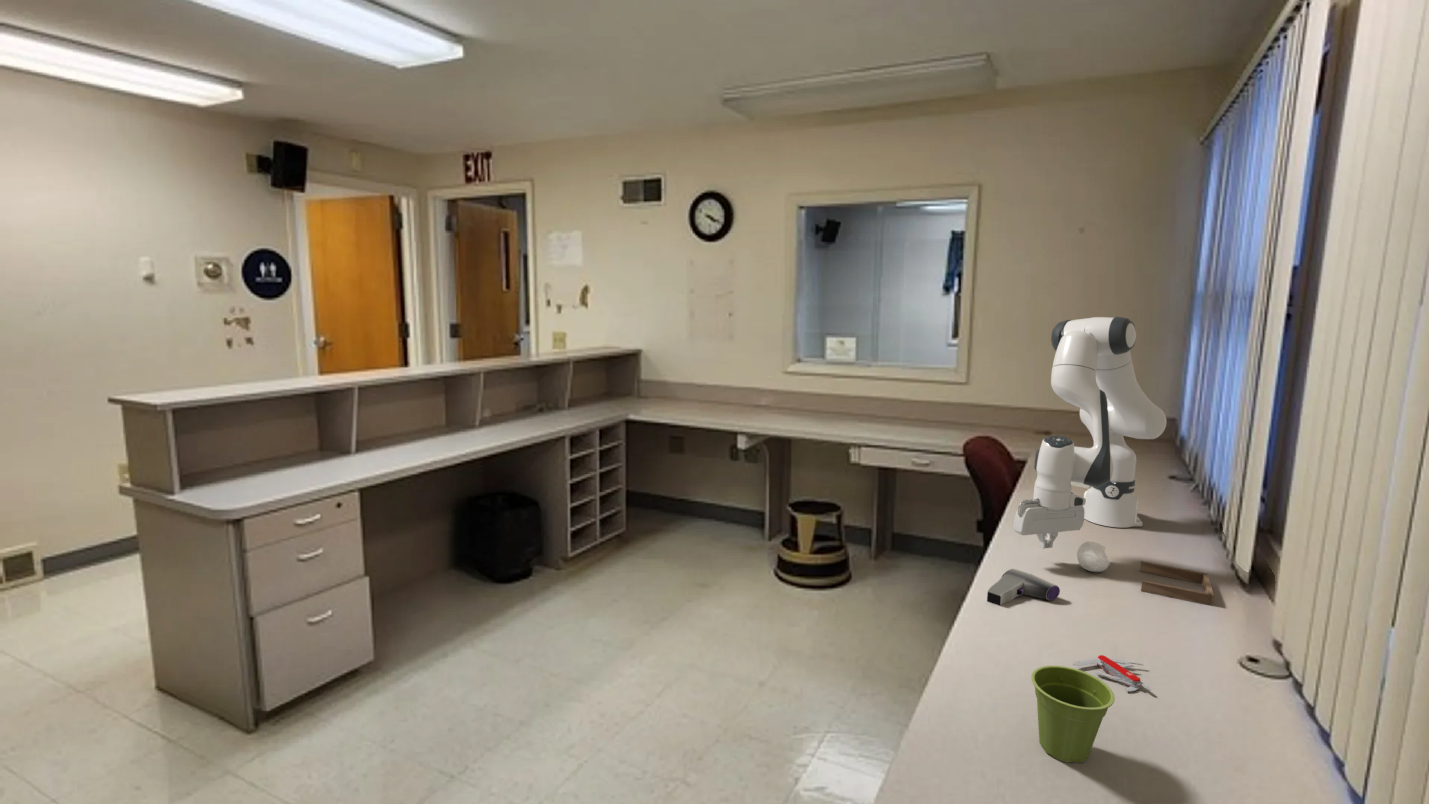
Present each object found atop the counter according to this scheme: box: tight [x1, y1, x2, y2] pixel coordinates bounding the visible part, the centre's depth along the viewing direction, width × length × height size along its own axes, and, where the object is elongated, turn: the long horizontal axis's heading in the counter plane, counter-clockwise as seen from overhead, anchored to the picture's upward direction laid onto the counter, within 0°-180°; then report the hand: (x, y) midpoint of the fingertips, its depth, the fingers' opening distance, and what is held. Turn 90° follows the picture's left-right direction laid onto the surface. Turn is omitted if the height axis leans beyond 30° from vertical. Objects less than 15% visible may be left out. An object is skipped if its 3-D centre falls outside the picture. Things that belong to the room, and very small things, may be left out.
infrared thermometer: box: [986, 568, 1061, 607], centre depth 167 cm, size 5×12×15 cm
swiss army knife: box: [1072, 654, 1152, 693], centre depth 135 cm, size 12×14×2 cm
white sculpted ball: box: [1076, 540, 1111, 573], centre depth 185 cm, size 8×8×8 cm
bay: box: [1139, 560, 1215, 607], centre depth 176 cm, size 15×14×2 cm
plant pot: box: [1031, 665, 1116, 763], centre depth 113 cm, size 12×12×11 cm
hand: (1045, 547), depth 190 cm, fingers closed
